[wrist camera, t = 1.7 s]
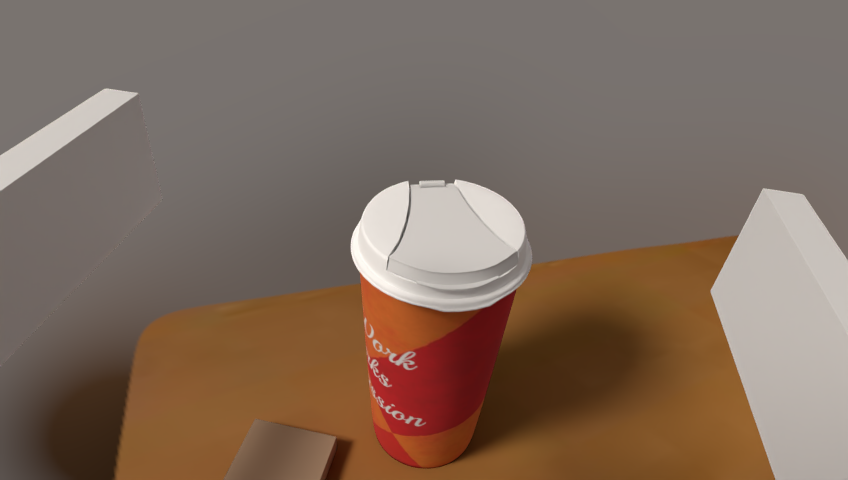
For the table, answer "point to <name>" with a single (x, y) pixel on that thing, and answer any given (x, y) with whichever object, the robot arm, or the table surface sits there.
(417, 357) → the paper cup
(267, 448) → the block
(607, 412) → the table surface
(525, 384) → the table surface
